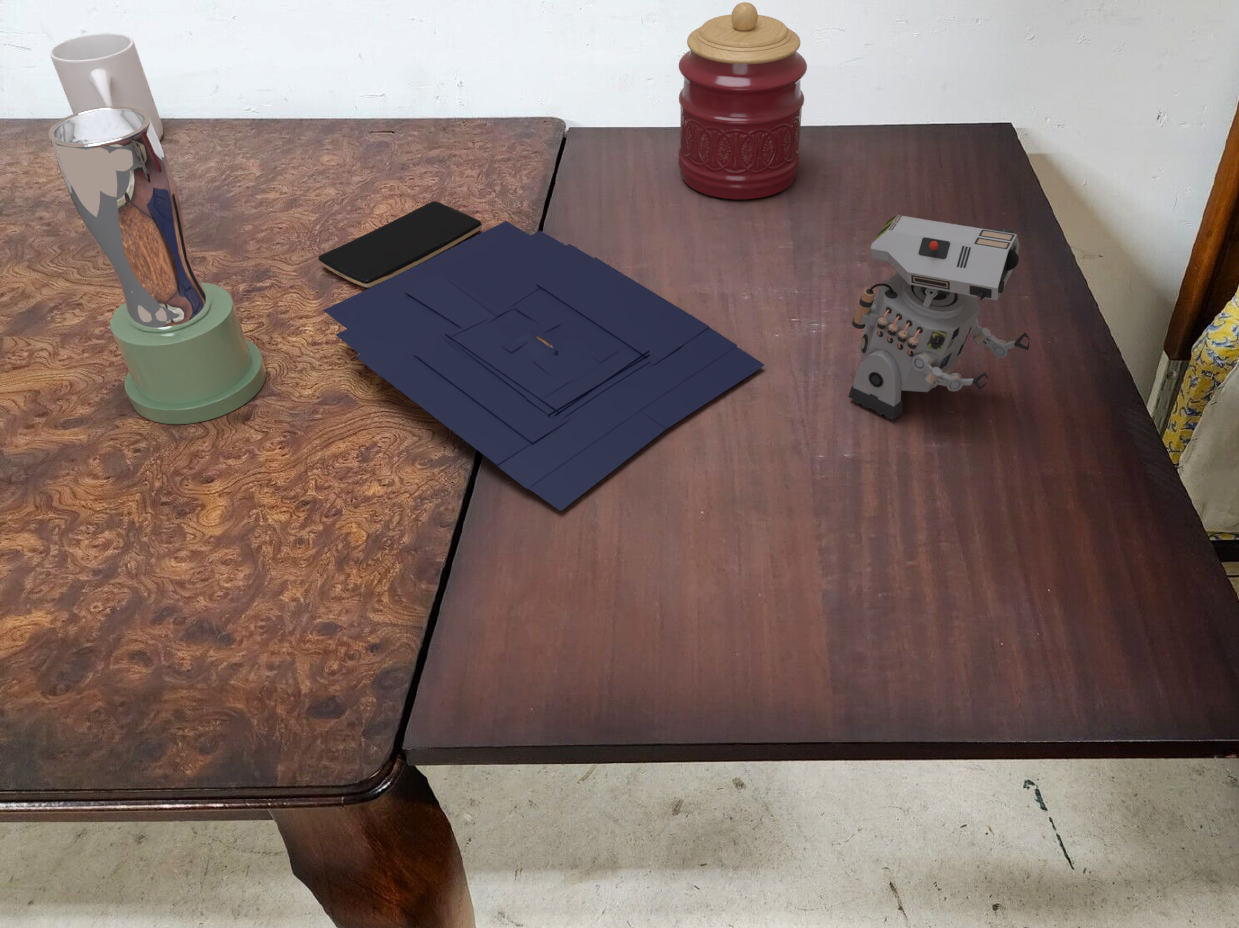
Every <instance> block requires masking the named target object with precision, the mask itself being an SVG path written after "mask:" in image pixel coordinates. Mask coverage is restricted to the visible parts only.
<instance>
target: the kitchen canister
mask: <svg viewBox="0 0 1239 928" xmlns="http://www.w3.org/2000/svg"><path fill="white" fill-rule="evenodd" d="M686 44H687V47H688V48H689V50H688V51H686V53H684V54H683V55H682V56H681V58H680V60H679V62H678V70H679V73H680V74H681V76H682V77H683V86H682V89H681V90H680V92H679V95H678V103H679V106H680V112H679V113H680V114H679V115H680V116H679V117H680V121H679V122H680V132H679V133H680V138H679V139H680V140H679V141H680V144H679V145H680V146H679V149H678V165H679V168H680V174H681V175H680V176H681V177H682V180H683V181H684V182H685V184H686V185H687V186H689V187H690V188H692V189H693V190H695V191H697V192H699V193H701V194H704V195H707V196H710V197H714V198H719V199H727V200H754V199H761V198H766V197H769V196H773V195H776V194H779V193H780V192H783V191H784V190H786V189H788V188H789V187H790V186H791V185H792V184H793V183H794V181H795V180H796V176H797V172H798V170H799V167H800V159H801V152H800V138H801V126H802V125H801V124H802V113H803V112H802V111H803V106H804V104H805V95H804V93H803V91H802V89H801V79H802V78H803V77H804V76H805V75H806V73H807V70H808V63H807V61H806V59H805V57H803V55H801V53H799V52H798V50H799V48H800V47H801V37H800V36H799V35H798V34H797V33H796V32H795V31H794V30H792V29H790V28H789V27H787V26H786V24H785V23H784V22H782V21H781V20H779V19H777V18H774V17H771V16H767V15H762V14H758V10H757V8H756V6H755V5H754V4H752V2H747V1H743V2H739V3H737V4H736V5H735V6H734V7H733V9H732V11H731V14H725V15H718V16H715V17H713V18H711V19H708V20H707V21H705V22H704V23H703V24H702V25H701V26H699V27H698V28H696V29H694V30H693V31H692V32H690V34H689V35H688V36H687V39H686Z"/></svg>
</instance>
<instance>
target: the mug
mask: <svg viewBox="0 0 1239 928" xmlns="http://www.w3.org/2000/svg"><path fill="white" fill-rule="evenodd" d="M49 56H50V59H51V62H52V64H53V66H54V69H55V71H56V74H57V76H58V79H59V81H60V84H61V86H62V89H63V92H64V94H65V97H66V100H67V102H68V104H69V106H70V107H69V108H70V109H71V112H72V115H73V114H75V113H78V112H82V111H86V110H90V109H95V108H101V107H112V106H124V107H133V108H137V109H140V110H143V111H145V112H146V113H147V114H148V115H149V117H150V121H151V123H152V126H153V128H154V130H155V132H156V134H157V137H158V139H159V141H161V139H162V137H163V134H164V128H163V123H162V120H161V117H160V115H159V112H158V109H157V105H156V102H155V99H154V97H153V93H152V91H151V89H150V85H149V82H148V79H147V75H146V73H145V70H144V67H143V65H142V61H141V58H140V56H139V53H138V50H137V47H136V44H135V41H134V39H133V37H131V36H129V35H126V34H123V33H118V32H98V33H97V32H96V33H88V34H83V35H78V36H75V37H74V36H73V37H71V38H67V39H64V40H63V41H61V42H59V43H57V44H55V45H54V46H52V48H50V50H49Z"/></svg>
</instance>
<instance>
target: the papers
mask: <svg viewBox="0 0 1239 928" xmlns="http://www.w3.org/2000/svg"><path fill="white" fill-rule="evenodd" d="M322 311H323V312H325V313H326V314H327V315H328V316H329V317H331V318H332V319H333V320H334V321H336V322H337V323H339V324H340V325H341V326H342V327H343V328H345V329H343V330H341V331H339V332H337V333H335V336H336V337H337V338H338V339H340V340H341V341H342V342H344V343H345V344H346V345H347V346H348V347H350V348H351V349H352V350H353V351H355V352H356V353H357V355H356V356H355V358H357V359H358V360H359V361H360V362H361V363H363V364H364V365H365V366H367V367H368V368H369V369H371V371H373V372H374V373H375V374H376V375H378V376H379V377H380V378H381V379H383V380H384V381H387V382H388V383H389V384H390V385H392V386H393V387H394V388H396V389H397V390H398V391H399V392H401V393H402V394H403V395H405V397H407V398H409V399H410V400H411V401H412V402H414V403H415V404H416V405H418V406H419V407H421V408H422V409H423V410H424V411H425V412H427V413H428V414H430V416H432V417H433V418H435V419H436V420H438V421H439V422H440V423H441V424H442V425H444V426H445V427H446V428H447V429H449V430H450V431H451V432H453V433H454V434H456V435H457V436H458V437H460V438H461V439H462V440H463V441H465V442H466V443H467V444H469V445H470V446H471V447H473V448H474V449H475V450H477V451H478V452H479V453H480V454H482V455H483V456H484V457H486V458H487V459H489V460H490V461H491V463H492V464H494V465H495V466H496V467H497V468H499V469H500V470H501V471H503V472H504V473H505V474H506V475H508V476H509V477H510V478H511V479H512V480H514V481H516V482H517V483H518V484H519V485H521V486H522V487H523V488H525V489H526V490H530V491H531V492H533V493H534V494H535V495H537V496H538V497H540V498H541V499H542V500H544V501H545V502H547V503H548V504H550V505H551V506H552V507H554V508H555V509H557V510H558V511H559V512H561V511H563V510H565V508H567V507H568V506H569V505H571V504H572V503H573V502H574V501H576V500H577V499H578V498H580V497H581V496H582V495H584V494H585V493H586V492H588V491H589V490H590V489H591V488H593V486H595V485H597V483H599V482H601V480H603V479H604V478H605V477H607V476H609V474H611V473H612V472H613V471H615V470H616V469H617V468H618V467H620V466H621V465H622V464H624V463H625V462H626V461H627V460H629V459H630V458H631V457H633V456H635V454H636V453H638V452H639V451H640V450H641V449H643V448H644V447H645V446H646V445H648V444H649V443H650V442H651V441H653V440H654V439H656V438H657V437H658V436H659V435H661V434H662V433H663V432H664V431H666V430H667V429H669V428H671V427H672V426H674V425H675V424H676V423H678V422H680V421H681V420H682V419H684V418H686V417H687V416H689V415H691V414H692V413H694V412H695V411H697V410H698V409H700V408H701V407H703V406H704V405H706V404H707V403H709V402H711V401H713V400H714V399H716V398H717V397H718V396H720V395H721V394H723V393H725V392H726V391H728V390H729V389H731V388H732V387H734V386H735V385H736V384H739V383H740V382H742V381H743V380H744V379H746V378H748V377H749V376H751V375H752V374H754V373H756V372H757V371H759V370H760V369H762V368H764V367H765V366H766V365H765V364H764V363H763V362H762V361H760V360H758V359H757V358H755V357H754V356H752V355H750V354H749V353H748V352H746V351H744V350H743V349H742V348H740V347H738V345H737V344H736V343H735V342H733V341H732V340H730V339H729V338H727V337H726V336H724V335H722V334H721V333H719V332H718V331H716V330H715V329H713V328H711V326H710V325H709V324H707V323H705V322H703V321H701V320H700V319H699V318H696V316H693V315H692V314H690V313H689V312H687V311H685V310H684V309H682V308H680V307H679V306H676V305H675V304H673V303H672V302H670V301H668V300H667V299H665V298H664V297H662V296H660V295H659V294H657V293H655V292H654V291H652V290H651V289H649V288H647V287H646V286H644V285H642V284H640V283H639V282H637V281H636V280H634V279H633V278H631V277H629V276H627V275H626V274H625V273H622V272H621V271H619V270H618V269H616V268H614V267H613V266H611V265H610V264H608V263H606V262H604V261H602V260H601V259H599V258H598V257H596V256H594V257H593V256H591V255H589V254H588V253H586V252H584V251H583V250H581V249H579V248H578V247H576V246H574V245H573V244H571V243H568V244H564V243H563V242H561V241H559V240H557V239H556V238H554V237H552V236H550V235H548V234H547V233H545V232H543V231H542V230H538V231H537V232H534V233H533V234H531V235H530V234H529V233H528V232H526V231H524V230H522V229H521V228H520V227H517V226H516V225H514V224H512V223H511V222H509V221H508V220H505V221H503V222H501V223H499V224H497V225H495V226H493V227H490V228H489V229H486V230H484V231H483V232H481V233H479V234H477V235H474V236H473V237H471V238H469V239H467V240H465V241H462V242H461V243H458V244H456V245H454V246H452V247H450V248H448V249H446V250H444V251H443V252H441V253H439V254H437V255H435V256H433V257H431V258H430V259H428V260H426V261H424V262H422V263H420V264H418V265H416V266H414V267H412V268H410V269H408V270H406V271H404V272H402V273H400V274H398V275H396V276H394V277H391V278H389V279H387V280H385V281H383V282H380V283H378V284H376V285H374V286H371V287H368V288H367V289H365V290H362V291H361V292H358V293H356V294H354V295H351V296H350V297H347V298H346V299H343V300H341V301H340V302H337V303H335V304H333V305H331V306H328V307H326V308H325V309H323V310H322Z"/></svg>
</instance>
